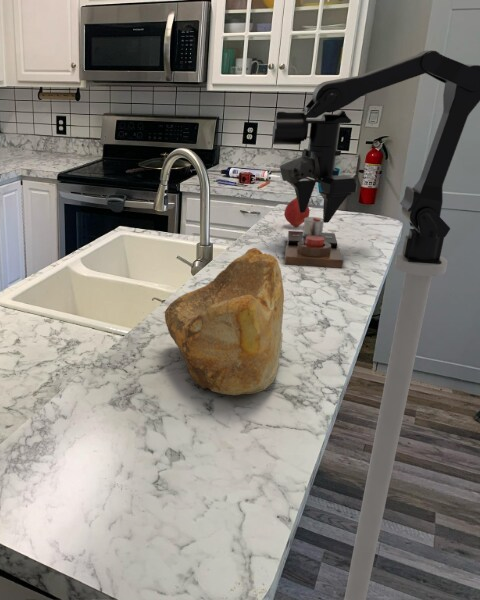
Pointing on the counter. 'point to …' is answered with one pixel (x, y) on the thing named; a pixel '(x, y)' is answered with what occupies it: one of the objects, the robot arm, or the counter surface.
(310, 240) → the button
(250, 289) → the rough brown rock
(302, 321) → the counter surface
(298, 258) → the button block
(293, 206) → the onion
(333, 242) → the dial panel
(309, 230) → the dial
